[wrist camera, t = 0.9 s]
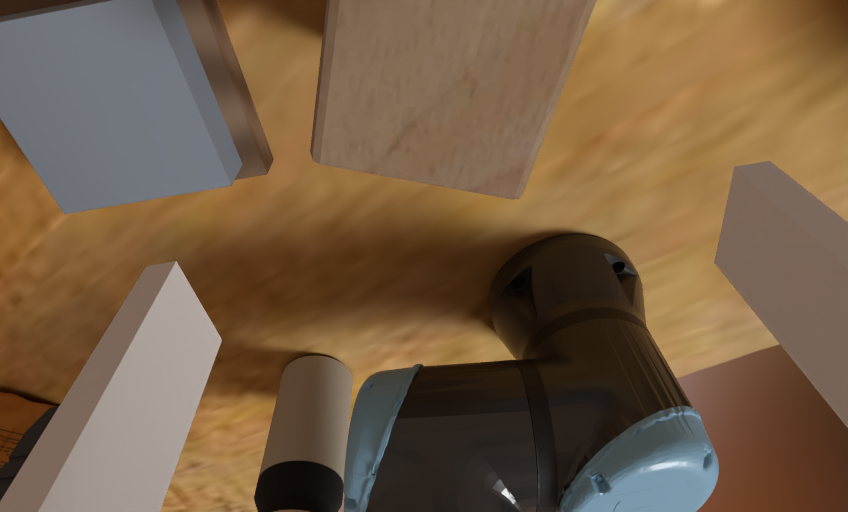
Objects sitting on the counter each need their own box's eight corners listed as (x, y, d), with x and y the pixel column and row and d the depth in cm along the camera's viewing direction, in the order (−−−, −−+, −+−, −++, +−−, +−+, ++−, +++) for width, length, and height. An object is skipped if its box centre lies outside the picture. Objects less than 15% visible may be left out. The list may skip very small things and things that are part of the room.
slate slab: (242, 164, 41) (231, 185, 38) (86, 191, 42) (64, 214, 39) (169, -17, 34) (148, -7, 31) (-20, 20, 34) (-57, 33, 32)
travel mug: (300, 343, 57) (266, 504, 42) (364, 367, 59) (354, 526, 45) (271, 386, 61) (232, 547, 46) (334, 407, 63) (315, 565, 49)
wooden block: (512, -71, 35) (612, -30, 19) (471, 76, 41) (522, 205, 25) (365, -111, 33) (336, -104, 17) (344, 48, 39) (307, 166, 23)
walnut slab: (275, 155, 45) (267, 174, 42) (97, 186, 46) (78, 206, 43) (198, -59, 35) (180, -54, 32) (-24, -15, 36) (-59, -7, 33)
